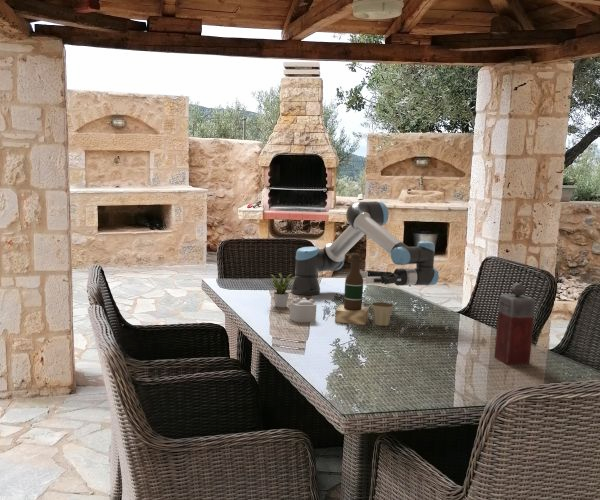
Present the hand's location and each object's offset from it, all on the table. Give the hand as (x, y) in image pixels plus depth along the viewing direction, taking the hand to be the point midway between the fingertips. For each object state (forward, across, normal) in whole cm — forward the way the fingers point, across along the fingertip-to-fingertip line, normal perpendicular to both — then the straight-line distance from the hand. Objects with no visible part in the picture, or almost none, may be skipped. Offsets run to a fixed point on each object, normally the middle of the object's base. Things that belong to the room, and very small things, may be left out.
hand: (359, 277), depth 286 cm
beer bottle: (+2, 0, -14) cm, 14 cm away
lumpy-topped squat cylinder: (+24, +6, -19) cm, 31 cm away
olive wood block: (+2, 0, -19) cm, 19 cm away
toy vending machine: (-32, -64, -19) cm, 74 cm away
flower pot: (-8, -9, -19) cm, 22 cm away
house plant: (+25, +30, -19) cm, 43 cm away
